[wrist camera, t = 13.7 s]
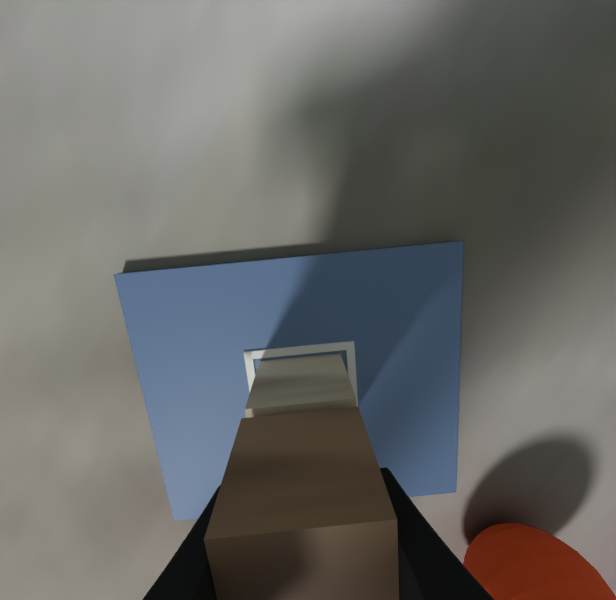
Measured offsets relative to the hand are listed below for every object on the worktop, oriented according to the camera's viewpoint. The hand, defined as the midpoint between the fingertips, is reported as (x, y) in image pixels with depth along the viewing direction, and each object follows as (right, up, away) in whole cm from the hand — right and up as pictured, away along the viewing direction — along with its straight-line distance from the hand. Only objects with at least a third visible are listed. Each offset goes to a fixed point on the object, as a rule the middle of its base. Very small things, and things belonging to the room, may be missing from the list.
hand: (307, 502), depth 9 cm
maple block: (0, +1, +6) cm, 6 cm away
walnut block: (0, 0, +1) cm, 2 cm away
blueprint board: (0, +1, +6) cm, 7 cm away
